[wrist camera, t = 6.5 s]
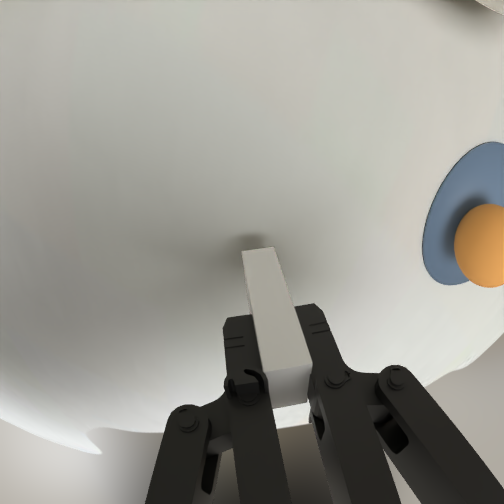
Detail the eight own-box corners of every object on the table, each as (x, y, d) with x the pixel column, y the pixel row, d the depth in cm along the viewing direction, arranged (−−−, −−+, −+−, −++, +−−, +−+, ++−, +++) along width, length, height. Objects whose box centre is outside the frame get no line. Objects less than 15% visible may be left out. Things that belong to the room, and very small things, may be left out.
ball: (430, 269, 18) (486, 317, 14) (450, 196, 15) (520, 241, 11) (469, 248, 19) (517, 286, 15) (486, 185, 16) (543, 221, 12)
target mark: (406, 296, 20) (407, 298, 20) (439, 135, 13) (441, 136, 13) (499, 269, 21) (500, 271, 21) (533, 148, 14) (535, 149, 14)
